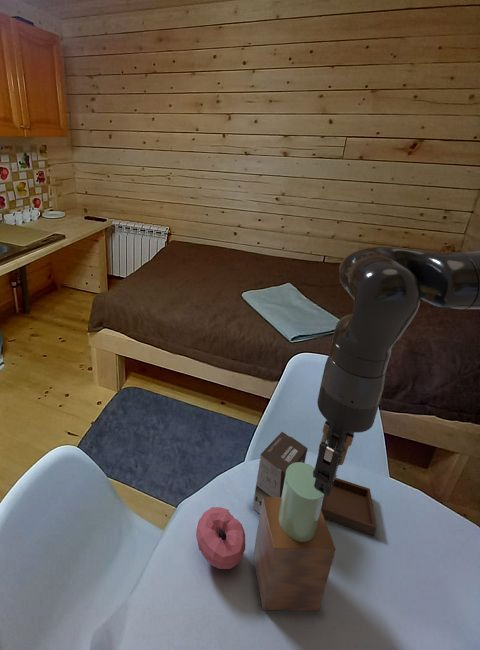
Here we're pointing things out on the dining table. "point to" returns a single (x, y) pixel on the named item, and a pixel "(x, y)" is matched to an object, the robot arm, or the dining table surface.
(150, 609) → the dining table surface
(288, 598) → the stand
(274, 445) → the coffee box
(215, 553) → the apple
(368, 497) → the tray
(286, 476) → the pale green cylinder
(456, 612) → the dining table surface
